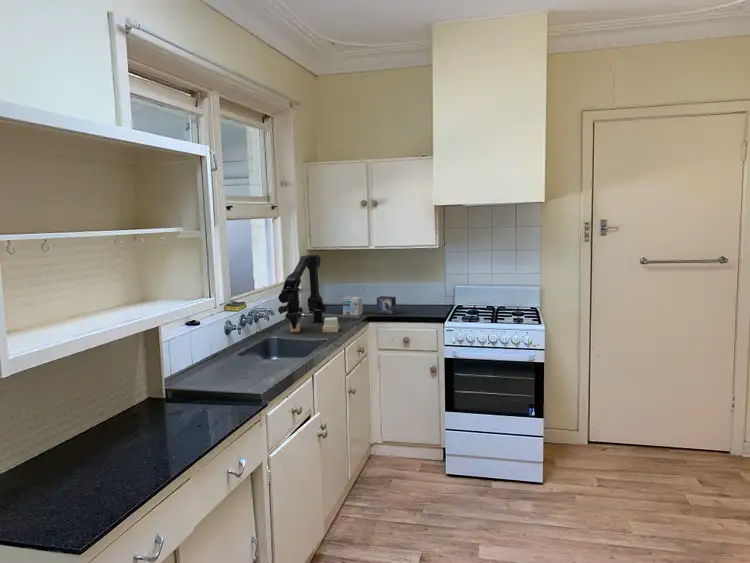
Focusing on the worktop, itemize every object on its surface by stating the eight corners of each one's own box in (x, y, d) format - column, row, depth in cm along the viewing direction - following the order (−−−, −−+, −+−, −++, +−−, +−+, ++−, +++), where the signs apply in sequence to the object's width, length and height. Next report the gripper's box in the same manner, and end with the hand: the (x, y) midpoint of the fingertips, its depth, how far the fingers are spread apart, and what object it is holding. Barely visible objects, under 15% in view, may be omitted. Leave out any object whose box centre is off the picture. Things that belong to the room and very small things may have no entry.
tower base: (324, 329, 311) (324, 323, 310) (339, 329, 310) (339, 323, 310) (322, 333, 303) (322, 326, 302) (337, 332, 302) (337, 326, 302)
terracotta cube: (291, 330, 311) (291, 322, 310) (299, 329, 311) (299, 321, 310) (290, 331, 306) (289, 323, 306) (298, 331, 306) (298, 323, 306)
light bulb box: (342, 315, 349) (342, 298, 348) (347, 313, 356) (346, 296, 354) (358, 315, 345) (358, 298, 344) (362, 313, 352) (362, 296, 350)
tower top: (326, 323, 310) (325, 317, 309) (337, 323, 309) (337, 317, 309) (324, 326, 303) (324, 319, 303) (336, 326, 303) (336, 319, 302)
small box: (376, 314, 349) (376, 297, 348) (381, 312, 355) (380, 295, 353) (391, 315, 344) (391, 298, 343) (396, 313, 350) (396, 296, 348)
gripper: (282, 297, 316) (284, 324, 318) (275, 303, 297) (276, 332, 299) (302, 297, 315) (303, 324, 317) (295, 302, 297) (297, 331, 299)
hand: (294, 328), depth 308 cm, fingers closed on terracotta cube, 4 cm apart
